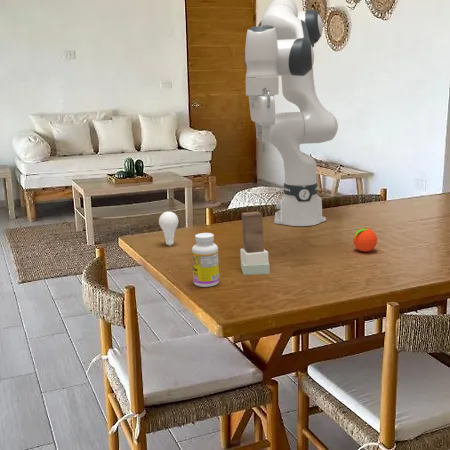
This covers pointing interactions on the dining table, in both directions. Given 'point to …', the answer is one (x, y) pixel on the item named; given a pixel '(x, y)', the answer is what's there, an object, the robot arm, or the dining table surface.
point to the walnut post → (252, 232)
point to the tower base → (255, 268)
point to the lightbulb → (168, 226)
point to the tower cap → (254, 257)
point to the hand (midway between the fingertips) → (262, 140)
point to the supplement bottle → (205, 261)
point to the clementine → (365, 240)
